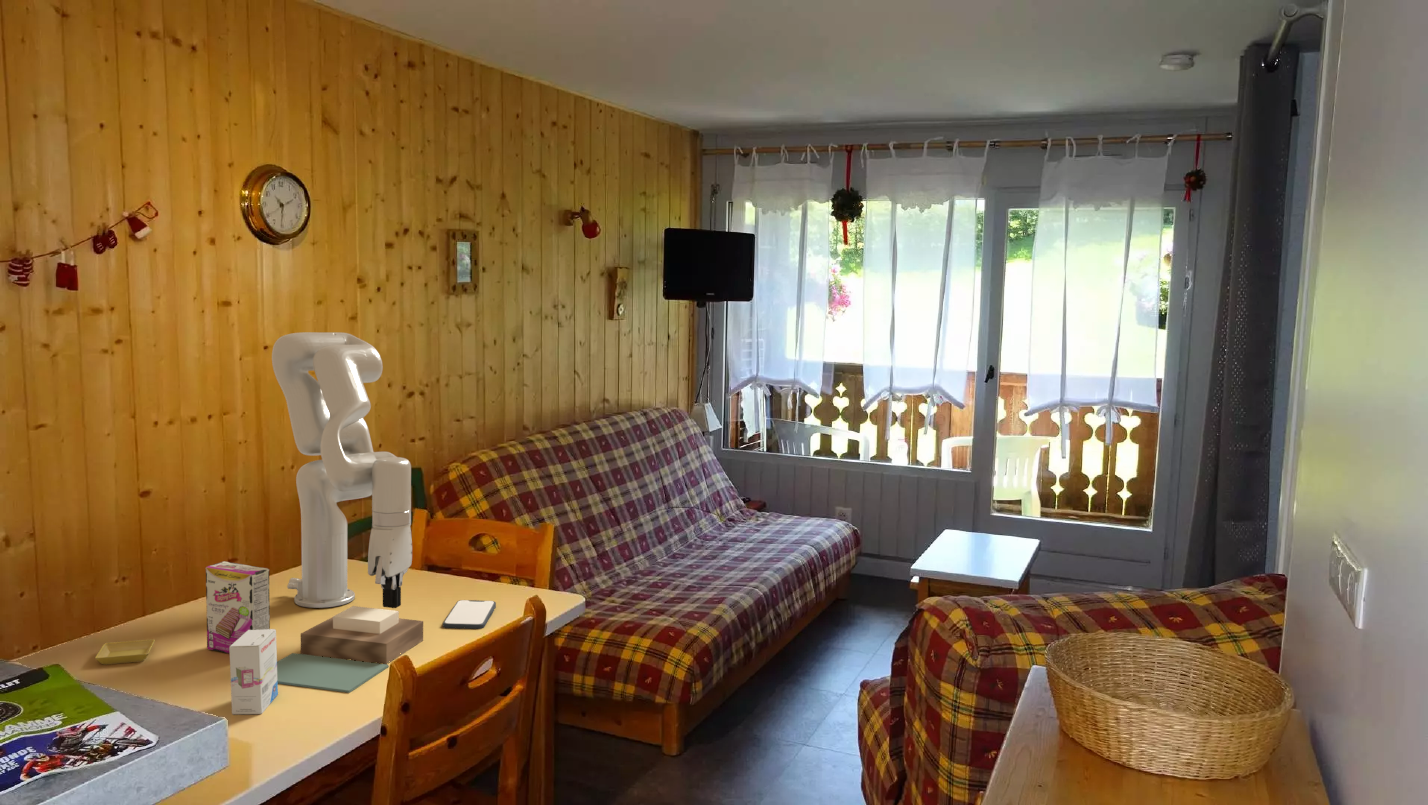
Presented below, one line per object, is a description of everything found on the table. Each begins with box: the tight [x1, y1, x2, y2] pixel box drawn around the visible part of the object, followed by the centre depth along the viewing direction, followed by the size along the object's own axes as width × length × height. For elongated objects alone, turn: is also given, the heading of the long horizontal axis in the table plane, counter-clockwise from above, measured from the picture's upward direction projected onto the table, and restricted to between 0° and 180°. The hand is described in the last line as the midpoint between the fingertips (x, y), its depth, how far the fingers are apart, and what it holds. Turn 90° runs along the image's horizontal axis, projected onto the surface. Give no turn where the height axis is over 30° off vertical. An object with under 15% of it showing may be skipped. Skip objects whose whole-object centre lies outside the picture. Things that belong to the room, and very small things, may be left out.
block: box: [300, 616, 424, 665], centre depth 201 cm, size 18×14×4 cm
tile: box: [332, 605, 400, 634], centre depth 202 cm, size 10×7×2 cm
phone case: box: [442, 599, 497, 630], centre depth 222 cm, size 9×2×16 cm
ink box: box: [229, 628, 279, 715], centre depth 172 cm, size 9×5×12 cm, turn 5°
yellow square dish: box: [94, 639, 156, 666], centre depth 192 cm, size 9×9×2 cm
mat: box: [277, 652, 389, 694], centre depth 187 cm, size 20×13×1 cm, turn 78°
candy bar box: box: [205, 561, 271, 654], centre depth 196 cm, size 11×5×16 cm, turn 71°
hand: (391, 606), depth 211 cm, fingers closed
